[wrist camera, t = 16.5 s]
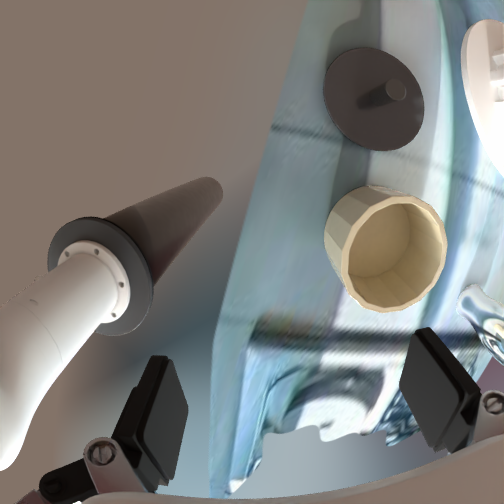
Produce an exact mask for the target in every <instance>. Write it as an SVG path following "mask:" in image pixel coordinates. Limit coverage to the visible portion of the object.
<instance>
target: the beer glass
mask: <svg viewBox="0 0 504 504" xmlns="http://www.w3.org/2000/svg"><path fill="white" fill-rule="evenodd" d="M456 312H457V314H458V315H459V316H460V317H462V318H464V319H465V320H467V321H468V322H469V323H470V324H471V325H472V326H473V328H474V329H475V331H476V333H477V334H478V336H479V338H480V340H481V341H482V343H483V344H484V346H485V347H486V349H487V350H488V351H489V352H490V354H491V355H492V356H493V357H494V358H495V359H496V360H497V361H498V362H499V363H501V364H502V365H503V366H504V304H502V303H500V302H498V301H496V300H494V299H492V298H490V297H489V296H487V295H486V294H485V292H484V291H483V290H482V288H481V287H480V286H479V285H477V284H471V285H469V286H467V287H466V288H465V289H464V290H463V291H462V292H461V294H460V295H459V297H458V300H457V303H456Z"/></svg>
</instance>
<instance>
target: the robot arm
mask: <svg viewBox="0 0 504 504" xmlns="http://www.w3.org/2000/svg"><path fill="white" fill-rule="evenodd" d="M129 301H130V284H129V279H128V277H127V274H126V271H125V270H124V268H123V266H122V264H121V263H120V261H119V260H118V259H117V257H116V256H115V255H114V254H113V253H112V252H111V251H110V250H109V249H107V248H106V247H104V246H103V245H101V244H99V243H97V242H93V241H89V240H81V241H77V242H75V243H73V244H71V245H69V246H68V247H67V248H65V250H64V251H63V252H62V253H61V256H60V258H59V261H58V266H57V267H56V268H54V269H53V270H51V271H50V272H48V273H47V274H45V275H44V276H37V277H36V278H35V280H34V283H32V284H31V285H29V286H28V287H27V288H25V289H24V290H23V291H21V292H20V293H18V294H17V295H16V296H14V297H13V298H12V299H10V300H9V301H8V302H7V303H5V304H3V305H2V306H1V307H0V471H1V470H3V469H5V468H7V467H8V466H9V465H10V464H11V463H12V462H13V461H14V460H15V458H16V457H17V455H18V453H19V451H20V449H21V447H22V444H23V442H24V438H25V436H26V433H27V430H28V427H29V424H30V422H31V419H32V417H33V414H34V413H35V410H36V409H37V407H38V405H39V403H40V402H41V400H42V398H43V397H44V395H45V393H46V392H47V391H48V389H49V388H50V386H51V385H52V383H53V382H54V381H55V379H56V378H57V377H58V375H59V374H60V373H61V372H62V370H63V369H64V368H65V367H66V365H67V364H68V362H69V361H70V360H71V359H72V358H73V356H74V355H75V354H76V353H77V351H78V350H79V349H80V347H81V346H82V345H83V344H84V342H85V341H86V340H87V339H88V338H89V337H90V335H91V334H92V333H93V332H94V331H95V329H96V328H97V327H98V326H99V325H100V323H109V322H112V321H115V320H116V319H118V318H119V317H120V316H121V315H122V314H123V313H124V312H125V310H126V309H127V307H128V304H129ZM399 387H400V390H401V392H402V394H403V396H404V398H405V400H406V402H407V404H408V406H409V408H410V410H411V412H412V414H413V416H414V418H415V420H416V422H417V424H418V426H419V428H420V430H421V432H422V434H423V436H424V438H425V440H426V442H427V444H428V446H429V447H431V448H433V450H434V452H435V453H436V452H438V451H441V450H443V449H445V448H447V450H448V454H447V456H446V457H444V458H441V459H439V460H436V461H434V462H431V463H428V464H426V465H423V466H421V467H418V468H415V469H412V470H410V471H407V472H404V473H401V474H397V475H394V476H391V477H388V478H385V479H381V480H377V481H374V482H370V483H366V484H362V485H357V486H353V487H348V488H344V489H339V490H333V491H328V492H322V493H315V494H308V495H300V496H291V497H279V498H264V499H215V498H195V497H184V496H174V495H164V494H157V493H156V490H157V488H158V485H164V486H168V483H169V480H173V478H174V475H175V470H176V466H177V461H178V456H179V452H180V447H181V443H182V438H183V433H184V429H185V425H186V420H187V416H188V404H187V401H186V399H185V396H184V393H183V390H182V388H181V385H180V382H179V379H178V376H177V373H176V370H175V367H174V364H173V361H172V360H171V359H168V357H167V356H154V355H153V356H151V358H150V360H149V362H148V364H147V366H146V368H145V370H144V373H143V375H142V377H141V380H140V381H139V384H138V386H137V387H134V388H133V389H132V391H131V393H130V396H129V398H128V400H127V402H126V404H125V407H124V409H123V411H122V413H121V416H120V418H119V420H118V423H117V425H116V427H115V429H114V432H113V434H112V436H111V438H108V437H100V438H96V439H94V440H92V441H90V442H89V443H88V444H87V445H86V447H85V449H84V453H83V456H84V458H82V459H80V460H78V461H76V462H73V463H71V464H68V465H66V466H64V467H61V468H58V469H56V470H53V471H51V472H48V473H47V474H45V475H44V476H43V477H42V478H41V480H40V483H39V490H38V491H36V490H35V489H33V490H32V491H31V492H29V493H28V494H27V495H25V496H24V497H23V498H21V499H20V500H19V501H17V502H16V503H14V504H504V393H502V392H501V391H497V390H489V391H487V392H485V393H484V394H483V395H482V394H481V393H480V390H481V389H480V388H479V387H478V385H477V384H476V383H475V381H474V380H473V379H472V378H471V376H470V375H469V374H468V372H467V371H466V370H465V369H464V367H463V366H462V365H461V364H460V362H459V361H458V360H457V359H456V358H455V356H454V355H453V354H452V353H451V351H450V350H449V349H448V348H447V347H446V345H445V344H444V343H443V342H442V341H441V340H440V338H439V337H438V336H437V335H436V334H435V333H434V331H433V330H432V329H431V328H430V327H426V328H422V329H418V330H416V331H415V333H414V334H412V336H411V340H410V344H409V348H408V352H407V356H406V360H405V364H404V367H403V371H402V374H401V378H400V381H399Z"/></svg>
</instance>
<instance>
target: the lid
mask: <svg viewBox="0 0 504 504" xmlns="http://www.w3.org/2000/svg"><path fill="white" fill-rule="evenodd" d="M323 95H324V101H325V105H326V108H327V111H328V113H329V115H330V117H331V119H332V121H333V122H334V124H335V125H336V126H337V128H338V129H339V130H340V131H341V132H342V133H343V134H344V135H345V136H346V137H347V138H348V139H350V140H351V141H353V142H354V143H356V144H358V145H360V146H362V147H364V148H367V149H370V150H375V151H391V150H396V149H399V148H401V147H403V146H405V145H407V144H408V143H409V142H411V141H412V140H413V139H414V137H415V136H416V135H417V133H418V132H419V130H420V128H421V125H422V122H423V117H424V101H423V96H422V92H421V89H420V87H419V84H418V82H417V81H416V79H415V77H414V76H413V74H412V73H411V72H410V70H409V69H408V68H407V67H406V66H405V65H404V64H403V63H402V62H401V61H399V60H398V59H397V58H395V57H394V56H392V55H390V54H388V53H386V52H384V51H381V50H378V49H373V48H356V49H352V50H349V51H347V52H345V53H343V54H341V55H340V56H339V57H337V58H336V59H335V60H334V61H333V63H332V64H331V65H330V67H329V68H328V70H327V73H326V75H325V79H324V85H323Z"/></svg>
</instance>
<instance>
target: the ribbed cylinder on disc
mask: <svg viewBox="0 0 504 504" xmlns="http://www.w3.org/2000/svg"><path fill="white" fill-rule="evenodd" d="M461 70H462V78H463V84H464V89H465V94H466V98H467V102H468V106H469V109H470V112H471V115H472V118H473V121H474V124H475V127H476V129H477V132H478V134H479V137H480V139H481V141H482V143H483V145H484V147H485V149H486V151H487V153H488V155H489V157H490V159H491V160H492V162H493V163H494V165H495V166H496V168H497V169H498V170H499V172H500V173H501V174H502V175H503V176H504V23H502V22H499V21H497V20H492V19H485V20H481V21H479V22H477V23H475V24H473V25H472V26H471V27H470V28H469V29H468V30H467V32H466V34H465V36H464V39H463V42H462V48H461Z"/></svg>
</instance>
